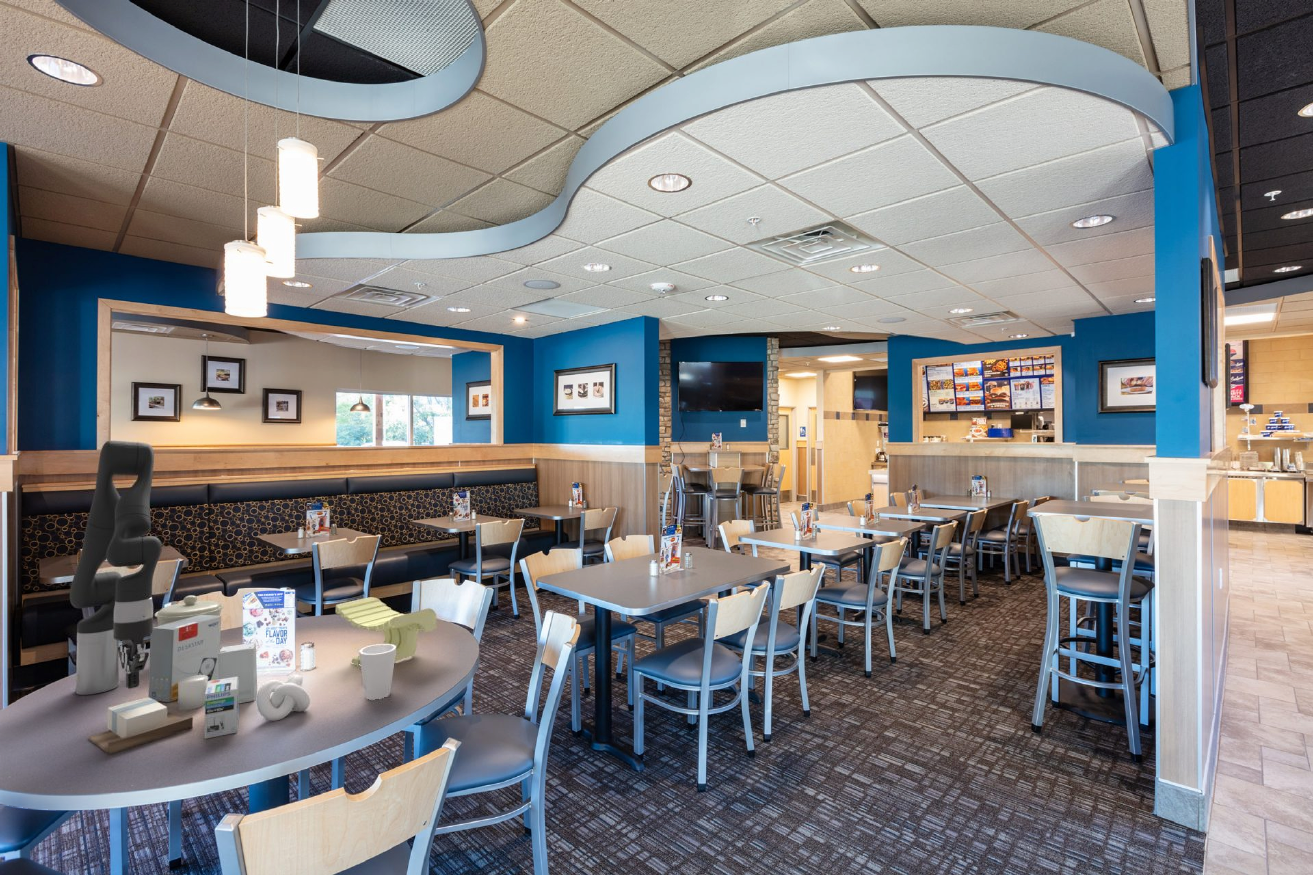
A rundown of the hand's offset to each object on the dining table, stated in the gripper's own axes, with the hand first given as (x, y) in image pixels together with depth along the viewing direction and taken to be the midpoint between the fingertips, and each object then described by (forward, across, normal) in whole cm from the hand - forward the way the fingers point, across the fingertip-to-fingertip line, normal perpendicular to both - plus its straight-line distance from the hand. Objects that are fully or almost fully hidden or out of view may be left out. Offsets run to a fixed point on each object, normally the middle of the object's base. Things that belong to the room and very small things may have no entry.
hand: (132, 686), depth 154 cm
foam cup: (+10, -33, -45) cm, 57 cm away
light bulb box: (+10, -19, -12) cm, 25 cm away
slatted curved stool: (+10, -8, -64) cm, 65 cm away
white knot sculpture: (+10, -23, -25) cm, 36 cm away
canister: (+10, +46, -29) cm, 55 cm away
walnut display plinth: (+10, -6, 0) cm, 12 cm away
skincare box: (+10, -4, -22) cm, 25 cm away
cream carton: (+7, +2, 0) cm, 7 cm away
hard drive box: (+10, +16, -17) cm, 25 cm away
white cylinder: (+10, +3, -14) cm, 17 cm away
